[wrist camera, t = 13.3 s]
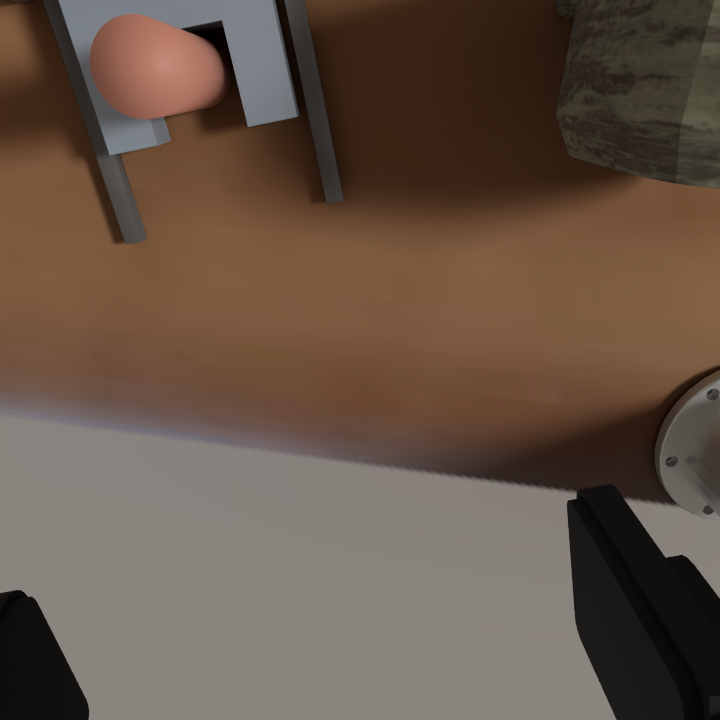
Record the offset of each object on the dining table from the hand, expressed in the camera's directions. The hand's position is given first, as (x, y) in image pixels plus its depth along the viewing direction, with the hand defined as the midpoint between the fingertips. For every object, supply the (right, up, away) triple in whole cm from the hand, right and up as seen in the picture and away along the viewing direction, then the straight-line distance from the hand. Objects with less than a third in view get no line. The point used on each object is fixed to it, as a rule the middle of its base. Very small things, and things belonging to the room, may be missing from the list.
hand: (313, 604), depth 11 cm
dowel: (-8, +20, +24) cm, 32 cm away
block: (-8, +21, +24) cm, 32 cm away
